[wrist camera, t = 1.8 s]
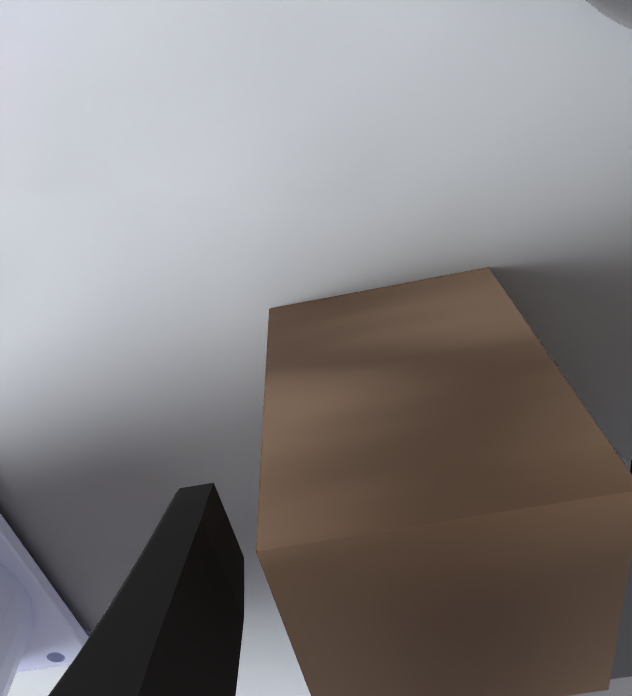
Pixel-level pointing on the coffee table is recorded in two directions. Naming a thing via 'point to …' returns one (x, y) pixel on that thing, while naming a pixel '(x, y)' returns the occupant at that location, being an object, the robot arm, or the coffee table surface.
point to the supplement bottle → (615, 10)
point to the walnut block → (437, 499)
